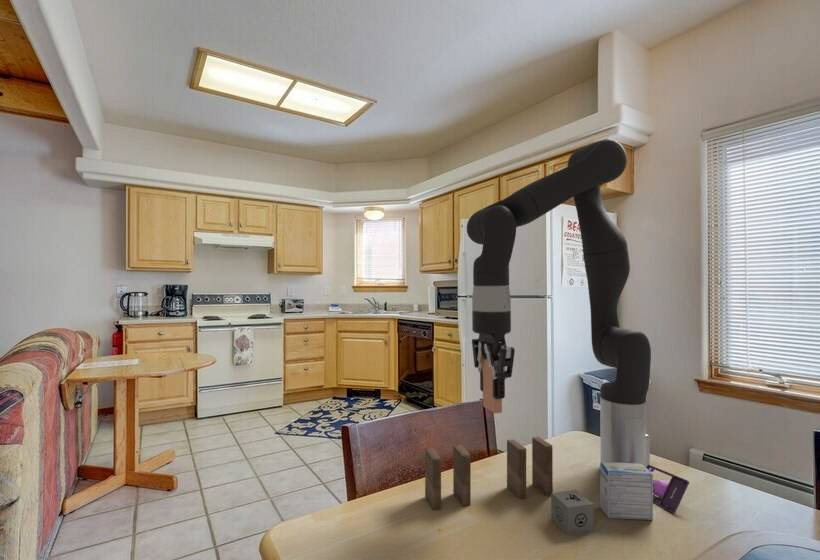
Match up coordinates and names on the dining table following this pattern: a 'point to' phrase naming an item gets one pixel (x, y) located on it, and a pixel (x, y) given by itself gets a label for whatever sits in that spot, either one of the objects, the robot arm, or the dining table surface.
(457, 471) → the domino
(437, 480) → the domino
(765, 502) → the dining table surface
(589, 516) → the dice cube
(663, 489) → the purple window box
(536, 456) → the domino
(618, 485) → the medicine box
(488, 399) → the domino
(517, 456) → the domino
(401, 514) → the dining table surface
